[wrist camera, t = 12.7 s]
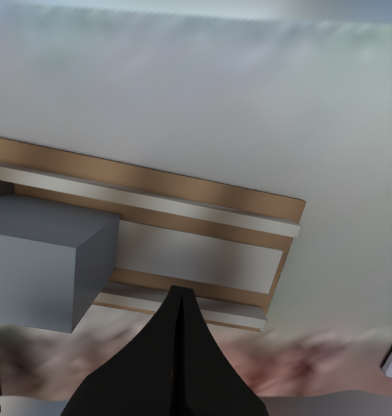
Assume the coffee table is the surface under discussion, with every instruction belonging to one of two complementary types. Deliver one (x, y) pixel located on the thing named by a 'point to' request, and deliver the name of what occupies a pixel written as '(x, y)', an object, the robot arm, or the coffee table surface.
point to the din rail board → (169, 230)
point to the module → (52, 261)
